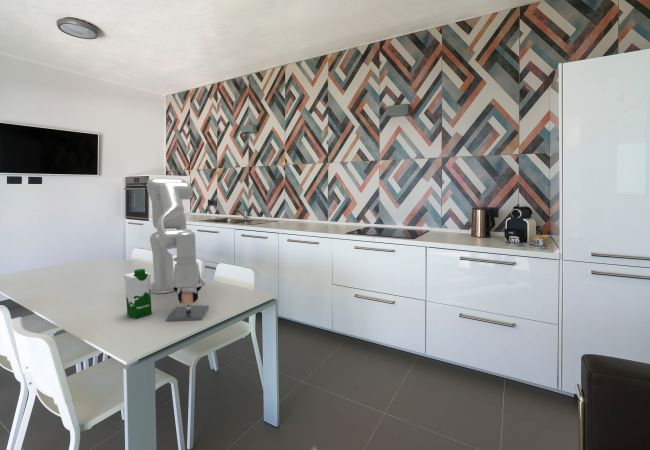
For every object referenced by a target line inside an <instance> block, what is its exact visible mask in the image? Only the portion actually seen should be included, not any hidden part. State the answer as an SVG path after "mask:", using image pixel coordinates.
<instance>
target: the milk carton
mask: <svg viewBox="0 0 650 450" xmlns="http://www.w3.org/2000/svg"><path fill="white" fill-rule="evenodd" d="M123 278H124V283H125V298H126V315H127V316H128V315H129V317H131V318H133V319H135V320H136V319H140V318H143V317H145V316H149V315H151V314H153V313H152V312H153V311H152V310H153V309H152V295H151V294H152V292H151V287H150V283H151V273H149V272H147V271H146V269H144V268H137V269H135V270H134V272H130V273H125V274H123Z"/></svg>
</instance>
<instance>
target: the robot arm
mask: <svg viewBox="0 0 650 450" xmlns="http://www.w3.org/2000/svg"><path fill="white" fill-rule="evenodd" d="M146 189H147V193H148V197H149V199H150V201H151V208H152V209H151V213H152V215H151V216H152V217H151V218H152V226H153V227H154V229H156V232H153V233H152V234H151V235H150V237H149V243H150V247H151V252H152V265H153V268H152V269H153V282H150V290H151V294H158V295H159V294H168V293H172V292H176V294H177V300H178V302H179V304H182V303H181V293H182V292H183V288H192V289H193V290H192V291H194V293H193V302H194V303H196V302H197V300H198V299H199V294H198V293H199V292H200V291H201V289H203V288H204V287H205V286H206V282H205V281H204V280H203V279H202V278H201V273H200V271H201V270H200V267H199V263H198V262H197V254H196V253H197V252H196V249H197V248H196V247H197V246H196V234H195V232H194V231H192V229H189V228H188V229H187V217H186V214H185V208H184V204H183V200H190V199H192V197H193V192H194V191H193V187H192V185H191V184H190V182H188V181H186V180H185V179H183V178H167V177H166V178H163V177H162V178H161V177H160V178H159V177H158V178H157V177H156V178H151V179H148V180H147V182H146ZM172 249H173V250H174V249H176V257H173V255H172V253H170V252H169V251H168V250H172ZM174 262H176V263H175V264H174ZM199 284H200V285H199Z"/></svg>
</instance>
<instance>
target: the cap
mask: <svg viewBox="0 0 650 450" xmlns="http://www.w3.org/2000/svg"><path fill="white" fill-rule="evenodd" d="M193 293H194V290H186V291H182V293H181V303H180V304H182V305H184V306H186V305H187V304H191V305H192V304H195V302H193Z"/></svg>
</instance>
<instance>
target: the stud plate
mask: <svg viewBox="0 0 650 450" xmlns="http://www.w3.org/2000/svg"><path fill="white" fill-rule="evenodd" d="M209 308H210V306H209V305H208V304H207V305H192V304H185V305H184V306H183V305H182V306H175V308H174V309H173V310H172V311H171V312H170V313H169V314H168V316H167V317H166V318H165V321H166V322H180V321H181V322H184V321H190V322H191V321H202V320H203V318H204V316H205V314H206V313H207V312H208V310H209Z"/></svg>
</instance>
